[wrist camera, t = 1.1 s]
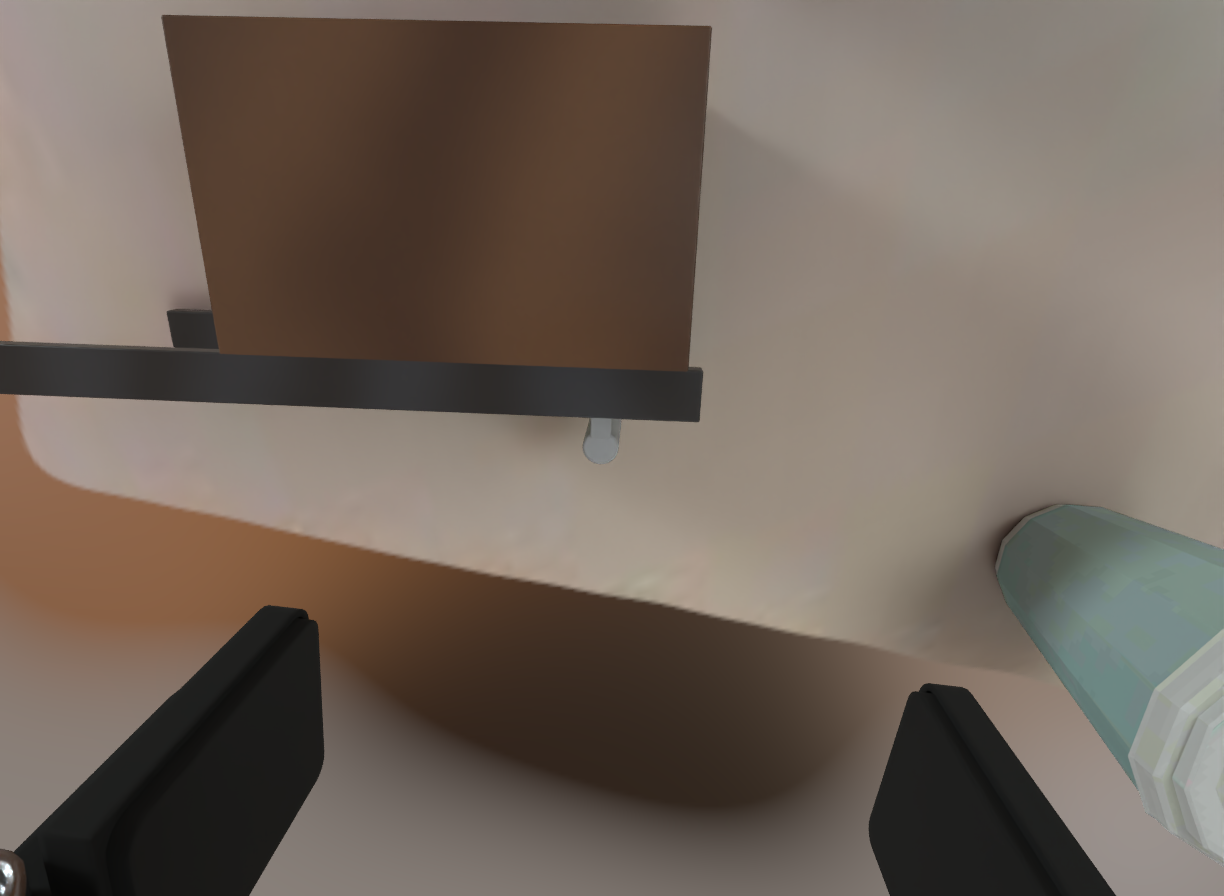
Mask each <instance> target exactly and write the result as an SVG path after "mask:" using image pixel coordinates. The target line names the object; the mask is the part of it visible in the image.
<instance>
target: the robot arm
mask: <svg viewBox="0 0 1224 896" xmlns="http://www.w3.org/2000/svg"><path fill="white" fill-rule="evenodd" d="M319 656H320V654H319V633H318V624H317V623H316V621H314V620H309V618H308V614H307V612H306V611H305V610H303V609H296V608H288V607H279V606H271V605H268V606H264V607H263V608H262V609H260V610H259V611H258V612H257V613H256V614H255V615H254V616H253V617H252V618H251V619H250V620H249V621H248V622H247V623H246V624H245V625H244V626H243V627H242V628H241V629H240V630H239V631H238V632H237V633H236V634H235V635H234V636H233V637H232V638H231V639H230V640H229V641H228V642H227V643H226V644H225V645H224V646H223V647H222V648H221V649H220V650H219V651H218V652H217V653H216V654H215V655H214V656H213V657H212V658H211V659H210V660H209V661H208V662H207V663H206V664H205V665H204V666H203V667H202V668H201V669H200V670H199V671H198V672H197V673H196V674H195V675H194V676H193V677H192V678H191V679H190V680H189V681H188V682H187V683H186V684H185V685H184V686H183V687H182V688H181V689H180V690H178V691H177V692H176V693H174V694H173V695H172V696H171V697H170V698H168V699H167V700H166V701H165V702H164V703H163V704H162V705H161V706H160V707H159V708H158V709H157V710H156V712H154V713H153V714H152V715H151V716H150V717H149V718H148V719H147V720H146V721H145V722H144V723H143V724H142V725H141V726H140V727H139V728H138V729H137V730H136V731H135V732H134V733H133V734H132V735H131V736H130V737H129V738H128V739H127V740H126V741H125V742H124V743H123V744H122V745H121V746H120V747H119V748H118V749H117V750H116V751H115V752H114V753H113V754H112V755H111V756H110V757H109V758H108V759H107V760H106V761H105V762H104V763H103V764H102V765H101V766H100V767H99V768H98V769H97V770H96V771H95V772H94V773H93V774H92V775H91V776H90V777H89V778H88V779H87V780H86V781H85V782H84V783H83V784H82V785H81V786H80V787H79V788H78V789H77V790H76V791H75V792H74V793H73V794H72V795H71V796H70V797H69V798H68V799H67V800H66V801H65V802H64V803H63V804H62V805H61V806H60V807H58V809H56V810H55V811H54V812H53V814H52V815H50V816H49V817H48V818H47V819H46V820H45V821H44V822H43V823H42V824H41V825H40V826H39V827H38V828H37V829H36V830H35V831H34V832H33V833H32V834H31V835H30V836H29V837H28V838H27V839H26V840H25V841H24V842H23V843H22V844H21V845H20V846H19V847H18V848H17V849H16V850H15V851H14V852H12V851H9V850H4V849H0V896H249V895H250V893H251V891H252V889H253V888H254V886H255V884H256V883H257V881H258V879H259V878H260V876H261V874H262V872H263V871H264V869H265V867H266V866H267V864H268V862H269V861H270V859H271V857H272V856H273V854H274V852H275V850H276V849H277V847H278V845H279V844H280V842H281V840H282V839H283V837H284V835H285V834H286V832H287V830H288V828H289V827H290V825H291V823H292V822H293V820H294V818H295V817H296V815H297V813H298V811H299V810H300V808H301V806H302V805H303V803H304V801H305V799H306V798H307V796H308V794H309V793H310V791H311V789H312V788H313V786H314V784H315V782H316V781H317V779H318V777H319V774H320V772H321V769H322V765H323V760H324V738H323V718H322V697H321V676H320V657H319ZM869 837H870V843H871V846H872V849H873V852H874V854H875V857H876V860H877V862H878V865H879V868H880V870H881V873H882V875H883V878H884V881H885V884H886V886H887V889H888V892H889V894H890V896H1116V895H1115V894H1114V892H1113V891H1112V889H1111V888H1110V887H1109V885H1108V884H1107V882H1106V881H1105V880H1104V878H1103V877H1102V875H1101V874H1100V873H1099V871H1098V870H1097V868H1096V867H1095V866H1094V864H1093V863H1092V861H1091V860H1090V859H1089V857H1088V856H1087V855H1086V853H1085V852H1084V850H1083V849H1082V848H1081V846H1080V845H1079V843H1078V842H1077V840H1076V839H1075V838H1074V837H1073V835H1072V833H1071V832H1070V831H1069V830H1068V828H1067V827H1066V825H1065V824H1064V822H1063V821H1062V820H1061V818H1060V817H1059V815H1058V814H1057V813H1056V811H1055V810H1054V808H1053V807H1052V806H1051V804H1050V803H1049V801H1048V800H1047V799H1046V797H1045V796H1044V795H1043V793H1042V792H1041V790H1040V789H1039V787H1038V786H1037V785H1036V783H1035V782H1034V780H1033V779H1032V778H1031V776H1030V775H1029V773H1028V772H1027V771H1026V769H1025V768H1024V766H1023V765H1022V764H1021V762H1020V761H1019V759H1018V758H1017V757H1016V756H1015V754H1014V752H1013V751H1012V750H1011V748H1010V747H1009V746H1008V744H1007V743H1006V741H1005V740H1004V738H1003V737H1002V736H1001V734H1000V733H999V731H998V730H997V729H996V727H995V726H994V725H993V723H992V722H991V720H990V719H989V718H988V716H987V715H986V713H985V712H984V711H983V709H982V708H981V706H980V705H979V704H978V702H977V701H976V699H975V698H974V697H973V695H972V694H971V693H970V692H969V691H968V690H967V689H965V688H963V687H956V686H947V685H939V684H931V683H928V684H924V685H923V686H922V687H921V688H920V690H919V692H916V691H915V692H912V693H911V694H910V695H909V698H908V700H907V703H906V706H905V710H904V712H903V716H902V719H901V722H900V725H899V728H898V732H897V734H896V738H895V741H894V744H893V747H892V750H891V753H890V757H889V760H888V763H887V766H886V769H885V772H884V775H883V779H882V782H881V785H880V788H879V791H878V794H877V797H876V800H875V804H874V807H873V810H872V813H871V816H870V821H869Z"/></svg>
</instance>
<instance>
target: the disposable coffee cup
mask: <svg viewBox="0 0 1224 896" xmlns="http://www.w3.org/2000/svg"><path fill="white" fill-rule="evenodd" d="M995 570H996V572H997V578H998V581H999V584H1000V587H1001V590H1002V593H1003V595H1004V598H1005V601H1006V603H1007V605H1008V606H1009V608H1010V609H1011V610H1012V612H1013V613H1014V615H1015V616H1016V618H1017V619H1018V620H1019V622H1020V623H1021V625H1022V626H1023V627H1024V629H1025V630H1026V632H1027V633H1028V635H1029V636H1030V637H1031V639H1032V640H1033V642H1034V643H1035V645H1036V646H1037V647H1038V649H1039V650H1040V652H1041V653H1042V654H1043V656H1044V657H1045V659H1046V660H1047V662H1048V663H1049V664H1050V666H1051V667H1052V669H1053V670H1054V672H1055V673H1056V674H1057V676H1058V677H1059V679H1060V680H1061V681H1062V683H1063V684H1064V686H1065V687H1066V689H1067V690H1068V691H1069V693H1070V694H1071V696H1072V697H1073V699H1074V700H1075V701H1076V703H1077V704H1078V706H1079V707H1080V708H1081V710H1082V711H1083V712H1084V714H1085V716H1086V717H1087V718H1088V720H1089V721H1090V723H1091V724H1092V725H1093V727H1094V728H1095V730H1096V731H1097V733H1098V734H1099V736H1100V737H1101V738H1102V740H1103V741H1104V743H1105V744H1106V745H1107V747H1108V748H1109V750H1110V751H1111V753H1112V754H1113V755H1114V757H1115V758H1116V760H1117V761H1118V763H1119V764H1120V765H1121V767H1122V768H1123V770H1124V771H1125V773H1126V774H1127V775H1128V777H1129V778H1130V780H1131V781H1132V782H1133V784H1134V785H1135V787H1136V788H1137V789H1138V791H1139V793H1140V797H1141V800H1142V803H1143V806H1144V809H1145V813H1147V814H1148V815H1150V816H1151V817H1153V818H1155V819H1156V820H1157V821H1158V822H1159V823H1160V824H1162V826H1163V827H1164V828H1166V829H1167V830H1168V831H1169V832H1170V833H1171V834H1173V835H1175V836H1176V837H1178V838H1179V839H1181V840H1182V841H1184V842H1186V843H1187V844H1189V845H1190V846H1192V847H1193V848H1195V849H1197V850H1198V851H1200V852H1201V853H1203V854H1204V855H1206V856H1208V857H1209V858H1211V859H1212V860H1214V861H1216V862H1217V863H1219V864H1220V865H1222V866H1224V549H1221V548H1218V547H1215V546H1212V545H1209V544H1206V543H1203V542H1201V541H1198V540H1195V539H1192V538H1189V537H1186V536H1183V535H1180V534H1178V533H1175V532H1172V531H1169V530H1166V529H1163V528H1160V527H1157V526H1154V525H1152V524H1149V523H1146V522H1143V521H1140V520H1137V519H1134V518H1131V517H1129V516H1126V515H1123V514H1120V513H1117V512H1114V511H1111V510H1108V509H1106V508H1103V507H1093V506H1079V505H1059V504H1056V505H1053V506H1051V507H1048V508H1046V509H1043V510H1041V511H1038V512H1036V513H1033V514H1030V515H1028V516H1025V517H1024V518H1023V519H1022V520H1021V521H1020V522H1019V523H1018V524H1017V525H1016V526H1015V527H1014V529H1013V530H1012V531H1011V532H1010V533H1009V534H1008V535H1007V536H1006V537H1005V538H1004V539H1003V540H1002V543H1001V547H1000V550H999V554H998V558H997V561H996V565H995Z"/></svg>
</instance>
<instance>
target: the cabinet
mask: <svg viewBox="0 0 1224 896" xmlns="http://www.w3.org/2000/svg"><path fill="white" fill-rule="evenodd" d="M161 18H162V24H163V29H164V35H165V41H166V47H167V52H168V58H169V64H170V70H171V76H172V81H173V87H174V93H175V99H176V105H177V110H178V116H179V122H180V128H181V133H182V139H183V145H184V151H185V157H186V162H187V168H188V174H189V180H190V185H191V191H192V197H193V203H194V209H195V214H196V220H197V226H198V232H199V238H200V243H201V249H202V255H203V261H204V266H205V272H206V278H207V284H208V290H209V295H210V301H211V307H212V310H190V309H175V310H169V311H167V316H168V321H169V327H170V332H171V337H172V342H173V346H174V347H175V348H171V347H145V346H118V345H92V344H66V343H39V342H13V341H0V394H16V395H41V396H66V397H90V398H115V399H139V400H164V401H189V402H213V403H238V404H262V405H287V406H312V407H336V408H361V409H386V410H410V411H435V412H459V413H484V414H509V415H533V416H558V417H582V418H607V419H632V420H656V421H681V422H699V420H700V407H701V394H702V381H703V370H702V368H700V367H688V366H689V352H690V337H691V323H692V308H693V294H694V279H695V265H696V250H697V236H698V221H699V207H700V192H701V178H702V163H703V149H704V134H705V120H706V106H707V91H708V77H709V62H710V48H711V33H712V28H711V26H684V25H634V24H585V23H536V22H486V21H437V20H387V19H338V18H289V17H239V16H190V15H162V16H161Z"/></svg>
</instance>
